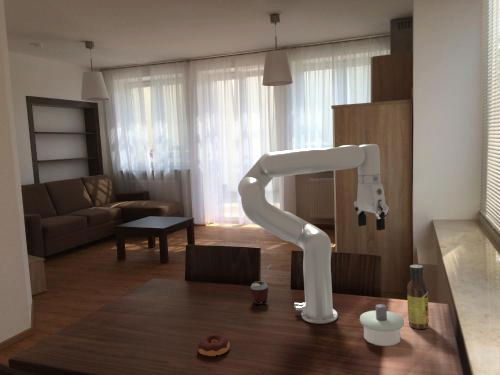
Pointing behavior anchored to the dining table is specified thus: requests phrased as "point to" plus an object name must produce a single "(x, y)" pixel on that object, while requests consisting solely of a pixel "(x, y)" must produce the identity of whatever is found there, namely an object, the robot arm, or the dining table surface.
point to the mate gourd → (260, 290)
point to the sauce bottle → (417, 299)
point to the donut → (213, 344)
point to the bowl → (382, 337)
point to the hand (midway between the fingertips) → (371, 227)
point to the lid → (381, 319)
